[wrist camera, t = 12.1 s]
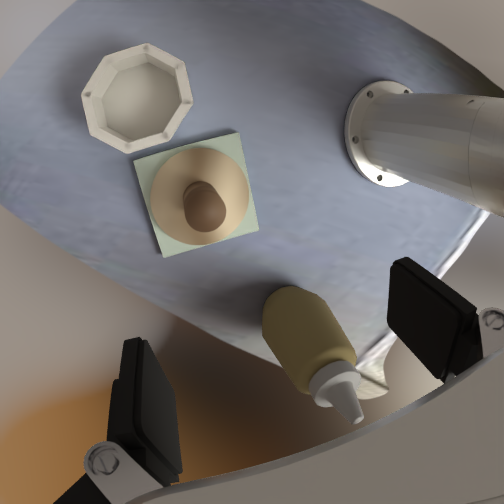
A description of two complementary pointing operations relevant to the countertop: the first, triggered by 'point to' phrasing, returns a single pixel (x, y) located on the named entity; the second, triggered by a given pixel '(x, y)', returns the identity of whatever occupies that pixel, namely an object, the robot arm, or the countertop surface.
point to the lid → (199, 196)
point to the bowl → (137, 98)
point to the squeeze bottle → (313, 349)
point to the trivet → (154, 162)
